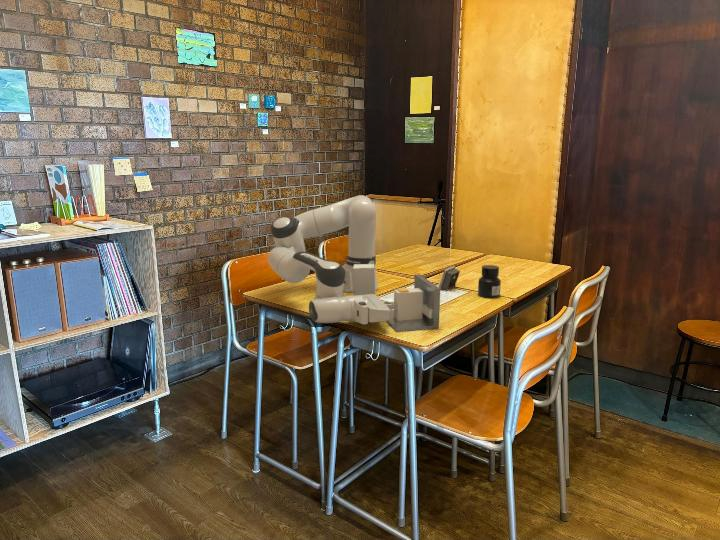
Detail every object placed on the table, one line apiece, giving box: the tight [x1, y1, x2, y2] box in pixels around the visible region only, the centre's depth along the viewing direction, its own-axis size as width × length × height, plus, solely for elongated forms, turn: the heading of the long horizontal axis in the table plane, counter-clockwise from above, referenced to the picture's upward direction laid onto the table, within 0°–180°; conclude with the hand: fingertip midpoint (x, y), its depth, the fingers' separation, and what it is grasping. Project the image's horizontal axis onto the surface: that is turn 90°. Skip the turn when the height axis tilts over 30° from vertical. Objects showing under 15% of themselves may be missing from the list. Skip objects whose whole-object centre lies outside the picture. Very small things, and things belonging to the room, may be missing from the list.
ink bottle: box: [477, 264, 502, 299], centre depth 224 cm, size 10×9×12 cm
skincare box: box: [353, 264, 376, 295], centre depth 210 cm, size 8×7×16 cm
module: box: [393, 287, 423, 321], centre depth 192 cm, size 9×4×11 cm, turn 104°
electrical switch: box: [438, 265, 461, 291], centre depth 234 cm, size 9×5×9 cm, turn 145°
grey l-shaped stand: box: [386, 273, 441, 333], centre depth 192 cm, size 15×20×14 cm
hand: (395, 305), depth 191 cm, fingers closed, pressing on module
